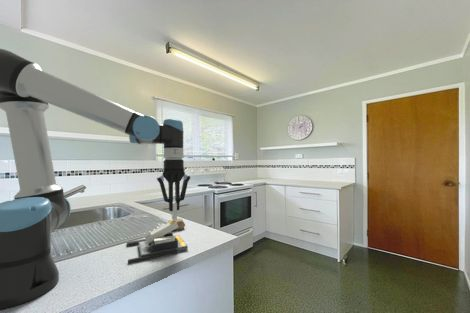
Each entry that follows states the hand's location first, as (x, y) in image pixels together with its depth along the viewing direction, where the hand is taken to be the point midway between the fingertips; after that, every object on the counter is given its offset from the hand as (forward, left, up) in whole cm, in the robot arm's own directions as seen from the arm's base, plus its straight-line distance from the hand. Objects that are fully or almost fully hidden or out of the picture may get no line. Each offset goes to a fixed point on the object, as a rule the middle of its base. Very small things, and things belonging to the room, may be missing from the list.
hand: (174, 218), depth 84 cm
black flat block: (-5, 0, -11) cm, 11 cm away
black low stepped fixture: (-8, +2, -11) cm, 13 cm away
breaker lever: (-5, 0, -5) cm, 6 cm away
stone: (+5, +22, -11) cm, 25 cm away
